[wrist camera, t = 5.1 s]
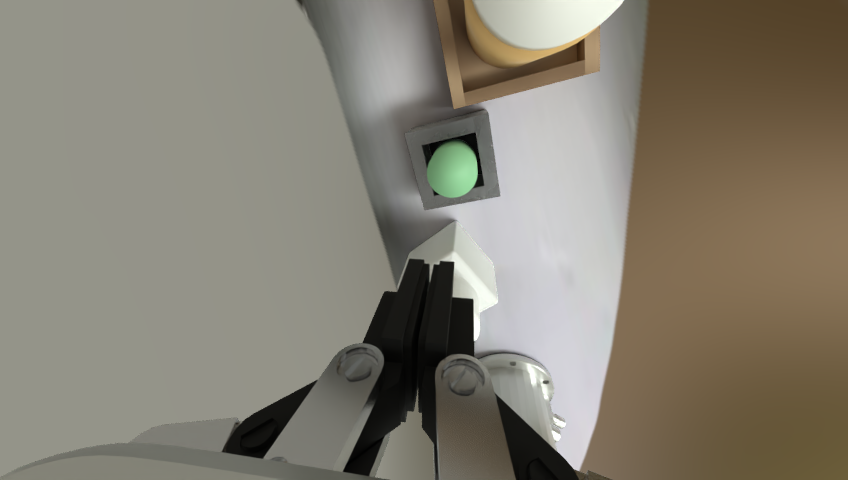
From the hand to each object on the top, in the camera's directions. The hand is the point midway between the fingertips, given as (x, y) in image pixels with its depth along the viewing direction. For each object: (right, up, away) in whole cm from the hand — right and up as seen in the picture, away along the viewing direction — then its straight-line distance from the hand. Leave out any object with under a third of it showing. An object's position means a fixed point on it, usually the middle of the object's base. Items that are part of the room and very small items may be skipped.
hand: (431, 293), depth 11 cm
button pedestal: (+3, +10, +18) cm, 21 cm away
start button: (+2, +9, +16) cm, 18 cm away
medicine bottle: (+3, 0, +24) cm, 24 cm away
